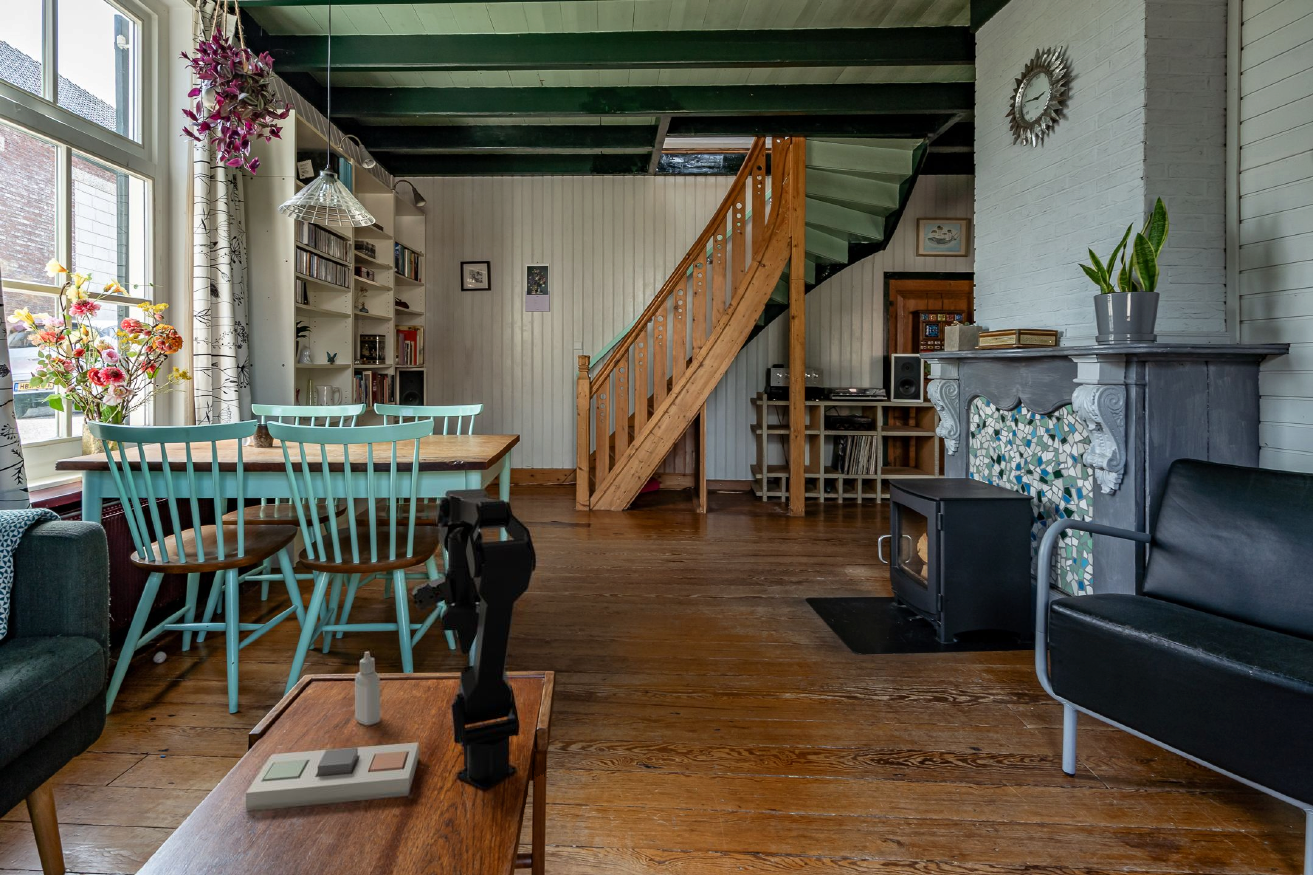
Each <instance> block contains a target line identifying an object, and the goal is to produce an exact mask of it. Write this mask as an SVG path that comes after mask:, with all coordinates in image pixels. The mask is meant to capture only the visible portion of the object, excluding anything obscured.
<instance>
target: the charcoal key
mask: <svg viewBox="0 0 1313 875" xmlns="http://www.w3.org/2000/svg"><path fill="white" fill-rule="evenodd" d="M333 749H334V750H332V749H325V750H326V751H325V753H324V755H323V757H322V759H321V761H320V763H319V764H318V777H321V776H332V775H343V774H352V773H353V771H354V768H355V766H356V764H357V761H358V748H356V747H347V748H346V749H344V748H333Z"/></svg>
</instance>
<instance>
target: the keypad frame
mask: <svg viewBox="0 0 1313 875" xmlns="http://www.w3.org/2000/svg"><path fill="white" fill-rule="evenodd" d="M355 748H358V761H357V764H356V766H355V768H354V771H353V773H352V774H343V775H332V776H321V777H318V764H319V763H320V761H321V759H322V757H323V755H324V753H325V751H326V750H327V749H321V750H310V751H296V752H284V753H273V754H271V755H270V757H269V758H268V759H267V761H266V762H265V764H264V765H263V767H262V768H261V770H260V771H259V773H258V774H257V776H256V777H255V779H254V780H253V782H252V783H251V785H250V786H249V788H248V789H247V791H245V806H246V807H245V808H246V810H245V811H246V812H250V811H251V812H252V811H261V810H273V809H284V808H294V807H303V806H314V805H326V804H335V803H337V804H338V803H344V802H345V803H348V802H356V801H357V802H359V801H369V800H377V799H387V798H388V799H390V798H397V797H398V798H400V797H409V796H410V792H411V789H412V784H413V780H414V777H415V773H416V769H417V765H418V762H419V760H420V759H419V749H420V748H419V742H411V743H410V742H409V743H407V742H406V743H397V744H385V745H384V744H383V745H369V746H357V747H355ZM334 749H335V748H333V749H331V750H334ZM343 749H346V748H345V747H343ZM403 751H407V761H406V764H405V767H404V769H400V770H389V771H378V772H370V768H371V766H372V763H373V761H374V758H375V756H376V754H379V753H391V752H403ZM306 759H307V766H306V768H305V770H304V771H303V773H302V775H301V777H300V778H298V779H287V780H275V781H264V778H265V776H266V775H267V773H268V772H269V770H270V769H271V767H272V766H273V764H274V763H275V762H282V761H294V760H306Z"/></svg>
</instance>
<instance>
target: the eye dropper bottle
mask: <svg viewBox="0 0 1313 875" xmlns="http://www.w3.org/2000/svg"><path fill="white" fill-rule="evenodd" d="M375 660H376V659H375V657H371V654H370V651H364V655H363V658H362V659H360V660H359V672H357V673H356V674H355V676H354V716H355V720H356V721H357V722H358V723H359V724H361V725H363V726H371V725H374V724H378V723H379V722H380V721H381V680H380V676H379V674H378V673H377V671H375V669H376V668H375V667H376V663H375V662H376V661H375Z"/></svg>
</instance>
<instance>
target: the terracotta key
mask: <svg viewBox="0 0 1313 875" xmlns="http://www.w3.org/2000/svg"><path fill="white" fill-rule="evenodd" d="M406 761H407V751H403V752H391V753H379V754H376V756H375V758H374V761H373V763H372V766H371V768H370V772H378V771H389V770H400V769H404V767H405V764H406Z"/></svg>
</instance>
